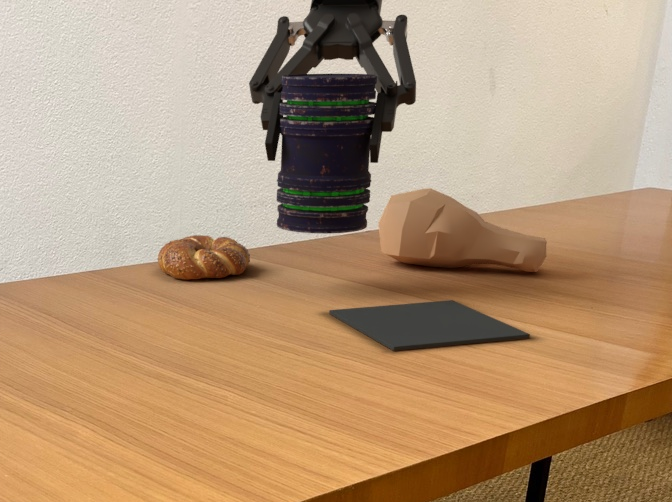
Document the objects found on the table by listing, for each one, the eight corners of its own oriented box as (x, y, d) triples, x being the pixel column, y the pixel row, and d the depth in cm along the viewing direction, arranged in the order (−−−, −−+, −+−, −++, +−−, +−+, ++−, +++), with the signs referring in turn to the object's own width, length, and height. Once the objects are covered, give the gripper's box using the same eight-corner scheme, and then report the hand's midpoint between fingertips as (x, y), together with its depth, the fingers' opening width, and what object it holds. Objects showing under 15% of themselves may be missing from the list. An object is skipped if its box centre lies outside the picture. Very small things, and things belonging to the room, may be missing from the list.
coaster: (529, 338, 98) (530, 334, 98) (393, 351, 94) (393, 346, 94) (452, 303, 110) (452, 300, 110) (329, 313, 107) (329, 310, 106)
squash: (380, 255, 134) (398, 183, 132) (539, 289, 128) (561, 213, 125) (361, 256, 125) (380, 178, 122) (531, 292, 118) (555, 211, 115)
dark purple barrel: (278, 234, 109) (283, 78, 102) (272, 218, 118) (276, 74, 111) (374, 233, 108) (386, 77, 102) (361, 217, 117) (371, 73, 111)
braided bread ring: (212, 286, 118) (212, 253, 116) (136, 274, 124) (135, 243, 122) (268, 268, 127) (269, 237, 125) (194, 258, 133) (195, 228, 131)
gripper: (454, 11, 115) (433, 179, 108) (252, 14, 121) (219, 174, 113) (458, -47, 108) (435, 129, 101) (243, -41, 114) (208, 126, 107)
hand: (321, 153), depth 107 cm, fingers closed on dark purple barrel, 10 cm apart
